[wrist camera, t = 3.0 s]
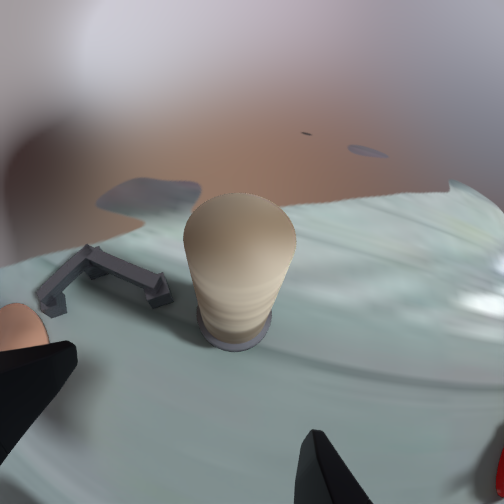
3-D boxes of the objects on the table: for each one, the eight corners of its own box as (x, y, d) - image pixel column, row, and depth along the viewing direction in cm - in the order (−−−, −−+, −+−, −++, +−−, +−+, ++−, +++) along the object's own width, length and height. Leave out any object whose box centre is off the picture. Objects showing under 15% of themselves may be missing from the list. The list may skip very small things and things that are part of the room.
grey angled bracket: (173, 301, 23) (166, 286, 20) (54, 341, 20) (36, 330, 17) (154, 239, 26) (147, 220, 24) (48, 278, 23) (33, 263, 20)
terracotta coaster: (61, 399, 17) (58, 398, 16) (-7, 410, 14) (-10, 409, 13) (44, 293, 22) (41, 291, 21) (-17, 318, 19) (-20, 316, 18)
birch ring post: (277, 340, 22) (329, 266, 11) (215, 366, 21) (199, 317, 10) (250, 285, 25) (269, 176, 14) (191, 306, 23) (160, 206, 12)
